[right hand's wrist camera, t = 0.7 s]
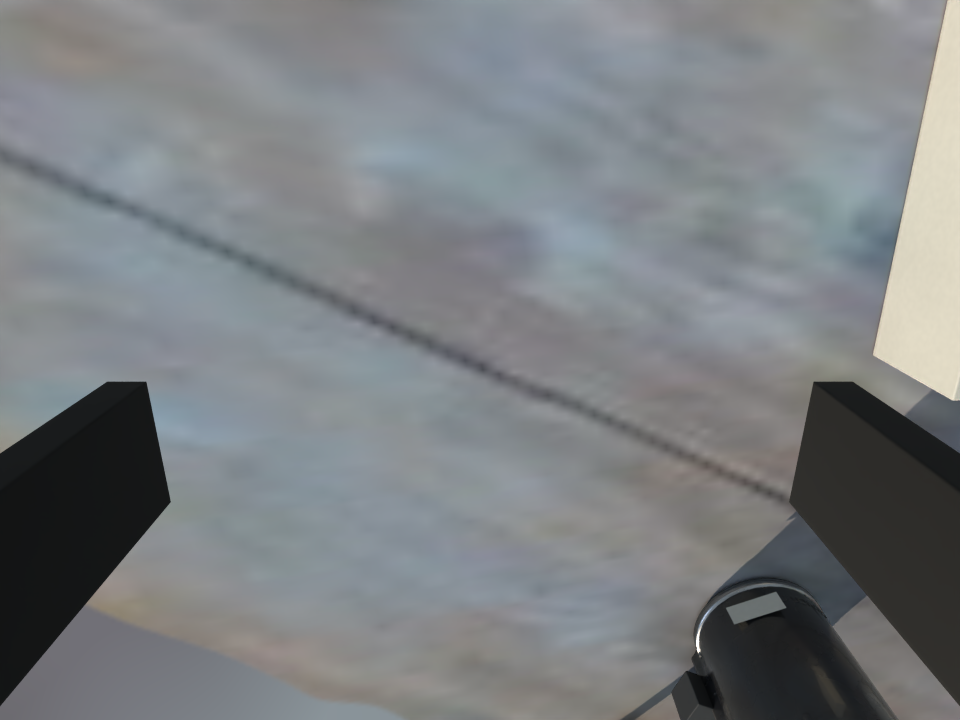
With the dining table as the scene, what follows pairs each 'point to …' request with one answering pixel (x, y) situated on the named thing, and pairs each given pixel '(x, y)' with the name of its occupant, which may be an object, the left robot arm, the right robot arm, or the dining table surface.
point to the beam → (930, 238)
